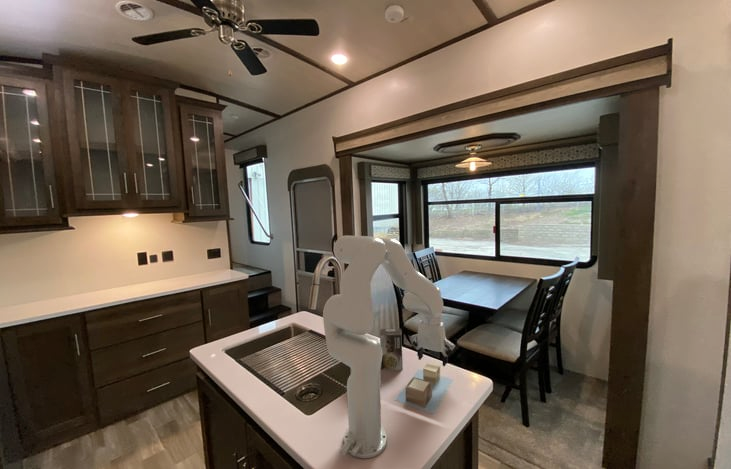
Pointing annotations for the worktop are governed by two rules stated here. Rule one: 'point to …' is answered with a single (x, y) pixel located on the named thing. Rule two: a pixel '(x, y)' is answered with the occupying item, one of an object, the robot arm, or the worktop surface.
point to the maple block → (431, 373)
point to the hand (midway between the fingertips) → (432, 361)
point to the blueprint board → (435, 393)
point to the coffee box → (391, 349)
